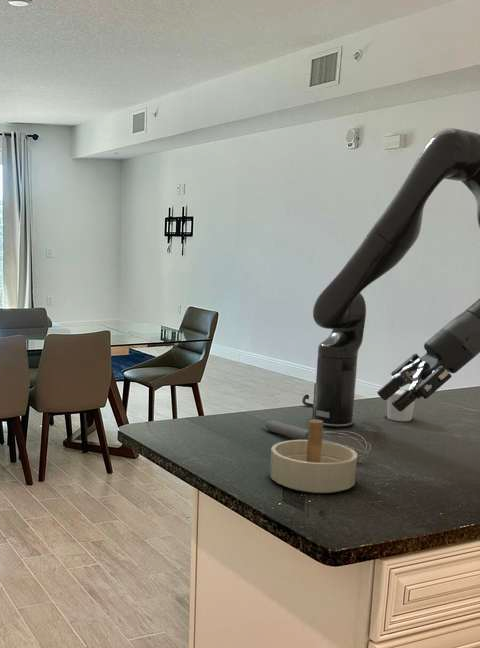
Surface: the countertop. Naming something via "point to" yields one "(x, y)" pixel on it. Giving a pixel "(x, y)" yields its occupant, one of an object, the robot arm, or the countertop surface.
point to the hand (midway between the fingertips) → (387, 402)
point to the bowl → (313, 467)
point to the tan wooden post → (314, 441)
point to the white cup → (394, 413)
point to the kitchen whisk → (303, 433)
